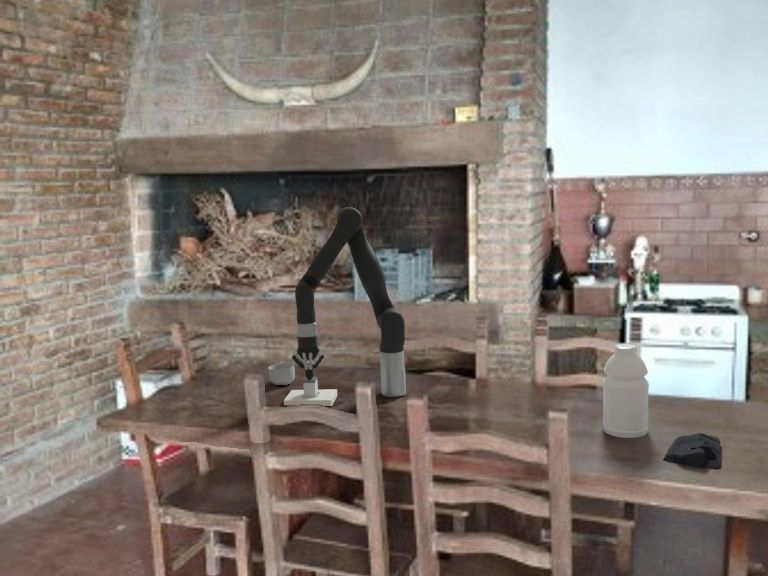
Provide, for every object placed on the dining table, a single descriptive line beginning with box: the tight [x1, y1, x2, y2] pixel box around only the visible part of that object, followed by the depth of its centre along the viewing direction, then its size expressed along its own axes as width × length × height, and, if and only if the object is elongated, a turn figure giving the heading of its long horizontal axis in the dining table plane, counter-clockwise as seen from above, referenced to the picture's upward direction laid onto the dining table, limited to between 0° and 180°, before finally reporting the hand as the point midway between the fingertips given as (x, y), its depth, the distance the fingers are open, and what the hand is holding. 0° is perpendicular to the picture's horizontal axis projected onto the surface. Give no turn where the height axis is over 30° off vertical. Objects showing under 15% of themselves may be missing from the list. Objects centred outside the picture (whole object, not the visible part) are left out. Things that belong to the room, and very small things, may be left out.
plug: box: [302, 376, 319, 398], centre depth 287 cm, size 4×5×9 cm
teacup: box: [267, 361, 296, 386], centre depth 314 cm, size 14×11×8 cm
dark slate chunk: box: [662, 432, 722, 470], centre depth 219 cm, size 15×22×5 cm
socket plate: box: [283, 388, 338, 407], centre depth 287 cm, size 18×14×2 cm
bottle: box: [602, 343, 650, 439], centre depth 238 cm, size 14×14×28 cm
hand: (309, 378), depth 286 cm, fingers closed
